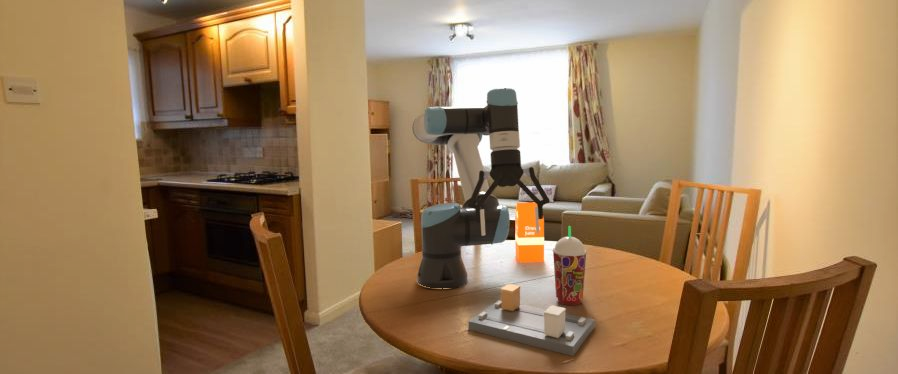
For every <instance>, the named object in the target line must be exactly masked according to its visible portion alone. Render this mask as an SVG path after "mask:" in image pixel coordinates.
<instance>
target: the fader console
mask: <svg viewBox="0 0 898 374" xmlns="http://www.w3.org/2000/svg"><path fill="white" fill-rule="evenodd" d="M547 309H548V308H547ZM547 309H546V308H541V307H537V306H531V305H525V304H521V303H520V306H519V307H517V308H516V309H515V310H514V311H510V310H505V309H501V299H498V300H497V301H495V302H494V303H492V304H491V305H489V306H488V307H487V308H485V309H484V310H482V311H481V312H479V313H478V314H476V315H475V316H474V317H472V318H471V319H469V320H468V330H469V331H472V332H477V333H481V334H485V335H488V336H493V337H496V338H500V339H505V340H508V341H511V342H515V343H518V344H519V343H521V344H523V345H528V346H531V347H535V348H538V349H539V348H540V349H542V350H547V351H551V352H555V353H559V354H563V355H566V356H571V357H574V355H576V353H577V352H578V350H579V348H580V347H582V345H583V344H584V343H585V341H586V340H587V338H588V337H589V336H590V334H591V333H592V332H593V331H594V329H595V326H596V325H595V324H596V323H595V321H596V320H595V318H590V317H585V316H581V315H576V314H570V313H566V312H565V331H564V332H563V334H562V335H561V336H560V337H559V338H556V337H552V336H548V335H544V311H546V310H547Z"/></svg>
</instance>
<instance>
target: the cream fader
mask: <svg viewBox="0 0 898 374" xmlns="http://www.w3.org/2000/svg"><path fill="white" fill-rule="evenodd" d="M566 311H567V309H566V308H565V307H563V306H562V307H561V306H555V305H552V304H551V305H550V306H548V308H547V310H546V311H544V335H548V336H552V337H556V338H559V337H560V336H561V335H562V334H563V332H564V331H565V313H566Z"/></svg>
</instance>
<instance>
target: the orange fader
mask: <svg viewBox="0 0 898 374" xmlns="http://www.w3.org/2000/svg"><path fill="white" fill-rule="evenodd" d="M500 300H501V309H505V310H510V311H514V310H515V309H516V308H517V307H519V306H520V304H521V285H517V284H511V283H507V284H506V285H504V286H503V287H501V288H500Z"/></svg>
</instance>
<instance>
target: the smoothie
mask: <svg viewBox="0 0 898 374" xmlns="http://www.w3.org/2000/svg"><path fill="white" fill-rule="evenodd" d="M567 228H568V229H567V230H568V231H567V232H568V233H567V236H563V237H561V238H560V239H559V240H558V241H557V242H556V243H555V246H554V248H552V252H553V253H552V254H553V270H554V286H555V297H556V298H557V301H558V303H560V304H562V305H564V306H577V305H579V304H581V303H582V300H583V298H584V288H585V276H586V274H585V273H586V262H587V261H586V260H587V249H586V248H585V246H584V244H583V242H582V241H581V240H580V239H578V238H576V237H574V236H572V226H570V225H568V227H567Z"/></svg>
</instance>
